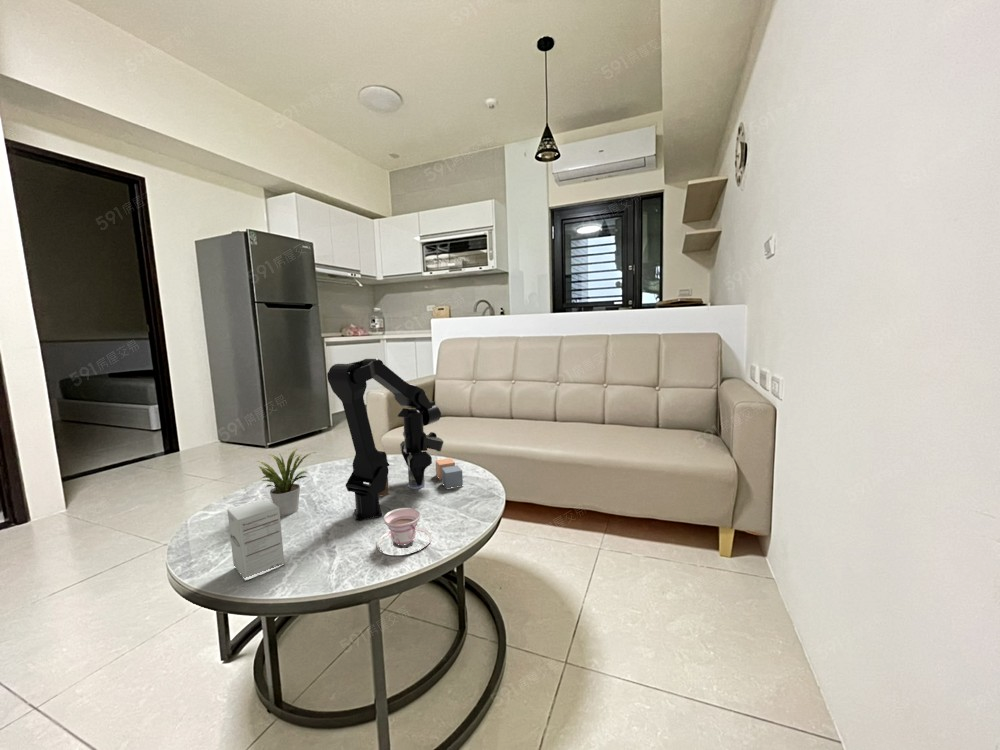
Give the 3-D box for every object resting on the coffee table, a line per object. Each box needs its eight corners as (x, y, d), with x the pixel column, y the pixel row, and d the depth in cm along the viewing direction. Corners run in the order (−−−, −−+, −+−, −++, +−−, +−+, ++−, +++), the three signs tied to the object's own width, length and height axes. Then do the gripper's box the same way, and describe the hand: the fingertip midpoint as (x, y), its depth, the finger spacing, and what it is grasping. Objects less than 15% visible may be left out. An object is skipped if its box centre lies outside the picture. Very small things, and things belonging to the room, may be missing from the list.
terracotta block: (455, 477, 125) (454, 462, 125) (440, 480, 123) (439, 465, 123) (451, 472, 130) (450, 457, 129) (436, 475, 128) (435, 460, 127)
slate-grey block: (462, 486, 118) (462, 470, 117) (446, 489, 116) (445, 473, 116) (458, 480, 123) (457, 465, 122) (442, 483, 121) (441, 467, 120)
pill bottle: (405, 487, 119) (404, 460, 118) (417, 481, 122) (415, 455, 122) (416, 490, 116) (415, 462, 115) (428, 484, 120) (426, 458, 119)
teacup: (367, 542, 88) (365, 516, 87) (414, 523, 96) (412, 499, 95) (393, 564, 79) (391, 535, 78) (442, 541, 87) (441, 515, 87)
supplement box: (232, 568, 79) (226, 508, 78) (273, 552, 85) (267, 496, 83) (243, 583, 74) (236, 519, 73) (285, 565, 80) (280, 506, 78)
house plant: (316, 493, 115) (311, 439, 114) (326, 510, 104) (321, 450, 102) (259, 507, 107) (253, 449, 106) (263, 527, 96) (256, 462, 94)
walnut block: (389, 494, 114) (387, 477, 113) (370, 497, 112) (369, 480, 111) (387, 488, 118) (385, 472, 118) (369, 491, 116) (368, 475, 116)
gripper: (448, 433, 112) (450, 486, 113) (433, 420, 129) (435, 466, 131) (408, 438, 107) (411, 493, 109) (398, 424, 125) (401, 471, 126)
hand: (416, 479), depth 119 cm, fingers open, 9 cm apart
